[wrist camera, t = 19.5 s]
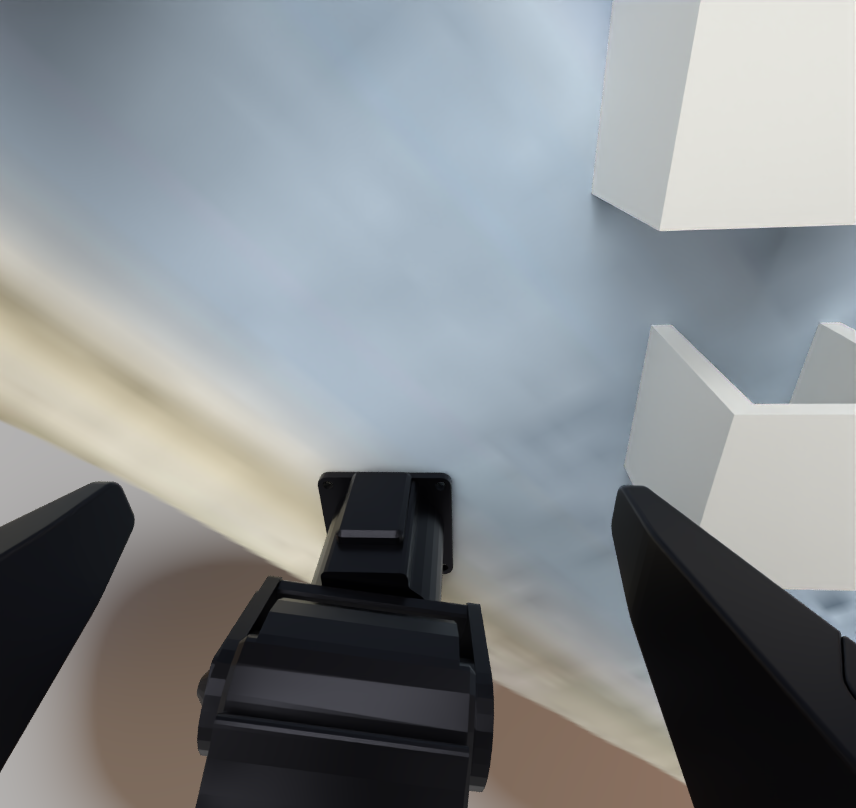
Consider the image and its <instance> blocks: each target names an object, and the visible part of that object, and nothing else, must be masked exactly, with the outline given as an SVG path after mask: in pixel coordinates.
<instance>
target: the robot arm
mask: <svg viewBox="0 0 856 808" xmlns="http://www.w3.org/2000/svg"><path fill="white" fill-rule="evenodd" d="M326 481H329V482H331V483H332V484H327V483H326ZM438 482H443V483H445V484H444V485H438V484H437V483H438ZM318 489H319V494H320V499H321V505H322V510H323V515H324V521H325V526H326V531H327V537H326V540H325V543H324V546H323V549H322V552H321V555H320V558H319V561H318V564H317V568H316V571H315V574H314V577H313V580H312V583H311V584H308V583H301V582H293V581H286V580H282V577H274V576H268V577H267V579H266V580H265V582H264V583H263V585H262V586H261V588H260V589H259V591H257V592H256V593H255V594H254V596H253V598H252V599H251V601H250V602H249V604H248V605H247V607H246V608H245V610H244V611H243V613H242V614H241V616H240V618H239V619H238V621H237V622H236V624H235V625H234V627H233V628H232V630H231V631H230V633H229V635H228V636H227V638H226V639H225V641H224V642H223V644H222V645H221V647H220V649H219V650H218V652H217V653H216V655H215V656H214V658H213V660H212V663H211V667H210V670H208V671H207V672H206V673H205V674H204V676H203V677H202V678H201V680H200V682H199V685H198V689H197V696H198V698H199V701H200V703H201V705H202V709H201V714H200V720H199V726H198V738H197V741H198V742H197V743H198V751H199V753H200V755H203V756H207V759H206V764H205V769H204V772H203V777H202V782H201V786H200V790H199V795H198V799H197V804H196V808H467V807H468V795H469V791H476V792H482V791H483V790H484V788H485V785H486V782H487V779H488V773H489V768H490V760H491V752H492V742H493V724H494V696H493V682H492V673H491V667H490V661H489V655H488V649H487V643H486V637H485V631H484V625H483V619H482V613H481V607H480V604H473V603H467V604H466V605H462V604H455V603H447V602H441V591H442V574H447V573H449V572H451V571H452V569H453V541H452V487H451V478H450V477H449V476H448V475H447V474H445V473H405V472H326V473H323V474H322V475H321V477H320V479H319V481H318ZM134 520H135V519H134V514H133V511H132V509H131V507H130V504H129V502H128V500H127V498H126V495H125V493H124V491H123V488H122V487H121V486H120V485H119V484H118V483H116V482H93V483H90V484H88V485H86V486H84V487H82V488H79V489H77V490H75V491H73V492H71V493H69V494H67V495H65V496H63V497H61V498H59V499H57V500H55V501H53V502H51V503H48V504H47V505H44V506H42V507H40V508H38V509H36V510H34V511H32V512H30V513H28V514H26V515H24V516H22V517H20V518H18V519H15V520H13V521H11V522H9V523H7V524H5V525H3V526H1V527H0V772H1V770H2V768H3V767H4V765H5V763H6V761H7V759H8V758H9V756H10V755H11V753H12V751H13V749H14V748H15V746H16V744H17V743H18V741H19V739H20V737H21V736H22V734H23V732H24V731H25V729H26V727H27V725H28V724H29V722H30V720H31V718H32V717H33V715H34V713H35V712H36V710H37V708H38V707H39V705H40V703H41V701H42V700H43V698H44V696H45V695H46V693H47V691H48V689H49V688H50V686H51V684H52V683H53V681H54V679H55V677H56V676H57V674H58V672H59V671H60V669H61V667H62V665H63V664H64V662H65V660H66V658H67V657H68V655H69V653H70V651H71V650H72V648H73V646H74V645H75V643H76V641H77V640H78V638H79V636H80V635H81V633H82V631H83V629H84V627H85V626H86V624H87V622H88V621H89V619H90V617H91V616H92V614H93V612H94V610H95V608H96V607H97V605H98V603H99V601H100V599H101V597H102V595H103V593H104V591H105V589H106V586H107V584H108V582H109V580H110V578H111V576H112V573H113V571H114V569H115V567H116V565H117V562H118V560H119V558H120V556H121V554H122V552H123V550H124V547H125V545H126V543H127V541H128V538H129V536H130V534H131V532H132V530H133V527H134ZM611 527H612V536H613V541H614V546H615V550H616V555H617V560H618V564H619V569H620V574H621V578H622V583H623V588H624V592H625V597H626V602H627V606H628V610H629V615H630V618H631V622H632V625H633V628H634V631H635V634H636V637H637V640H638V643H639V646H640V649H641V652H642V655H643V658H644V661H645V664H646V667H647V670H648V673H649V676H650V679H651V682H652V684H653V687H654V690H655V693H656V696H657V699H658V702H659V705H660V708H661V711H662V714H663V717H664V720H665V723H666V726H667V729H668V732H669V735H670V738H671V741H672V744H673V746H674V749H675V752H676V755H677V758H678V761H679V764H680V767H681V770H682V773H683V776H684V779H685V782H686V785H687V788H688V791H689V794H690V797H691V800H692V803H693V806H694V808H856V643H855V642H853V641H852V640H851V639H849V638H848V637H846V636H843V637H841V633H840V631H838V630H837V629H836V628H834V627H833V626H832V625H830V624H829V623H828V622H826V621H825V620H824V619H822V618H821V617H820V616H818V615H817V614H816V613H814V612H813V611H812V610H810V609H809V608H808V607H806V606H805V605H804V604H802V603H801V602H800V601H798V600H797V599H796V598H794V597H793V596H792V595H790V594H789V593H788V592H786V591H785V590H784V589H782V588H781V587H780V586H778V585H777V584H776V583H774V582H773V581H772V580H770V579H769V578H768V577H766V576H765V575H764V574H762V573H761V572H760V571H758V570H757V569H756V568H754V567H753V566H752V565H750V564H749V563H748V562H746V561H745V560H744V559H742V558H741V557H740V556H738V555H737V554H736V553H734V552H733V551H732V550H730V549H729V548H728V547H726V546H725V545H724V544H722V543H721V542H720V541H718V540H717V539H716V538H714V537H713V536H712V535H710V534H709V533H708V532H706V531H705V530H704V529H702V528H701V527H700V526H698V525H697V524H696V523H694V522H693V521H692V520H690V519H689V518H688V517H686V516H685V515H684V514H682V513H681V512H680V511H678V510H677V509H676V508H674V507H673V506H672V505H670V504H669V503H668V502H666V501H665V500H664V499H662V498H661V497H660V496H658V495H657V494H656V493H654V492H653V491H652V490H650V489H649V488H647V487H646V486H642V485H623V486H621V487H620V488H619V489H618V492H617V496H616V501H615V507H614V512H613V517H612V525H611ZM443 564H446V565H443Z"/></svg>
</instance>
